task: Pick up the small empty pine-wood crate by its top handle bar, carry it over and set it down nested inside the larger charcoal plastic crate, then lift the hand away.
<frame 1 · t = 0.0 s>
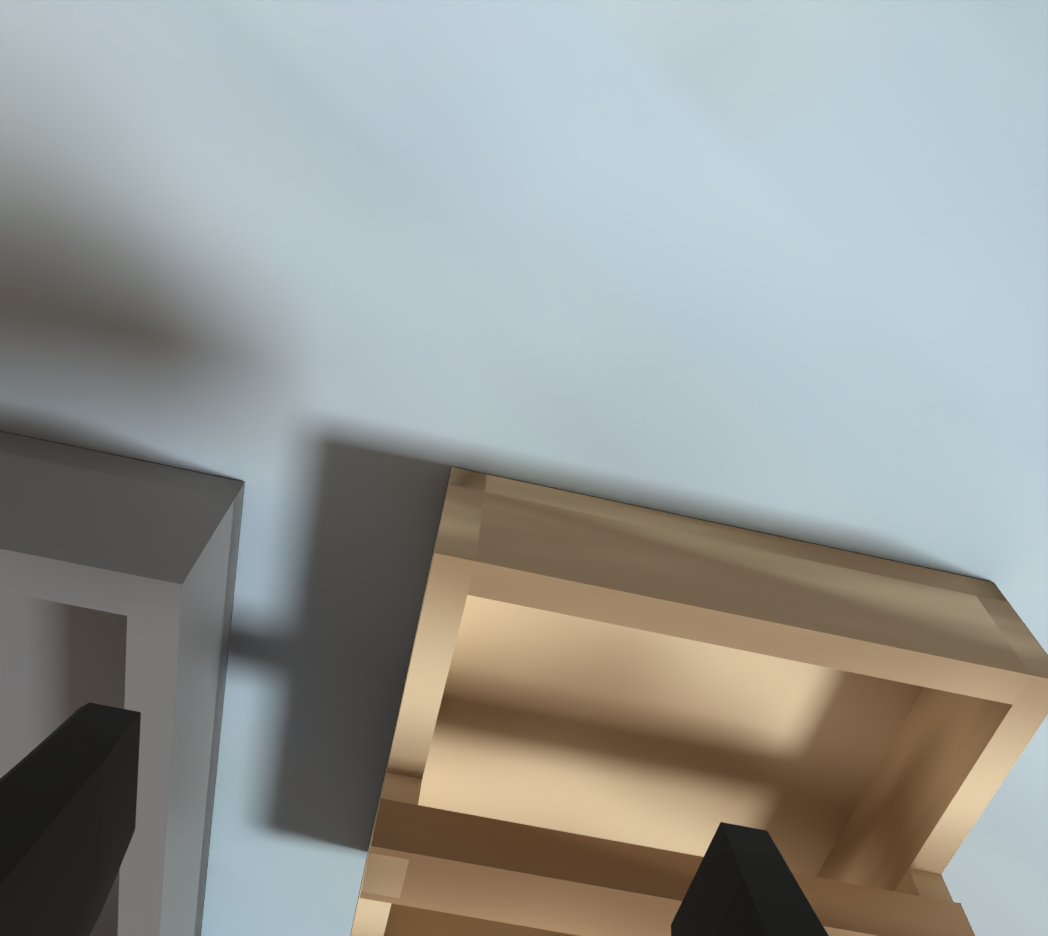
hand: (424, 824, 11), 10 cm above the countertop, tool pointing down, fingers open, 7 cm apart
pine crate: (648, 731, 24), on the countertop
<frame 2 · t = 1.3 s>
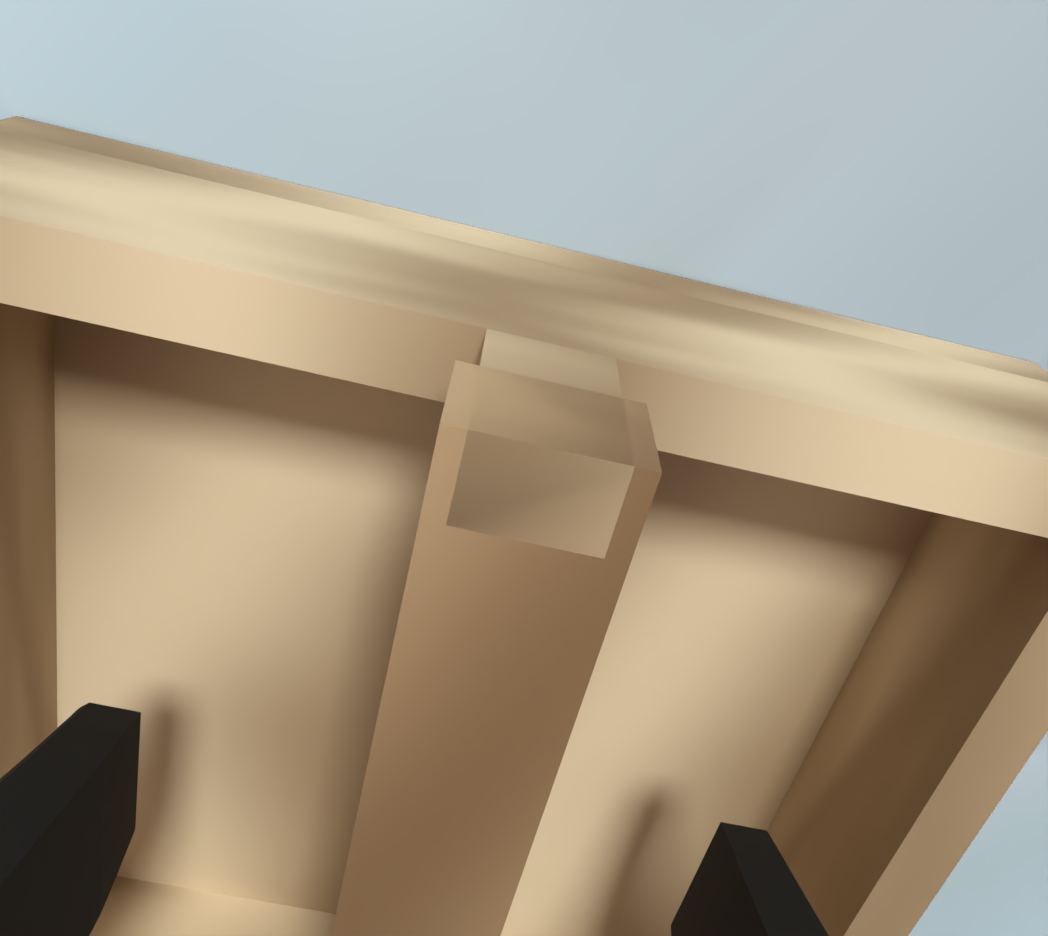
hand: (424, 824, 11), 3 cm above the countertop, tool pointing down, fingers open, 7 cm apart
pine crate: (450, 647, 14), on the countertop
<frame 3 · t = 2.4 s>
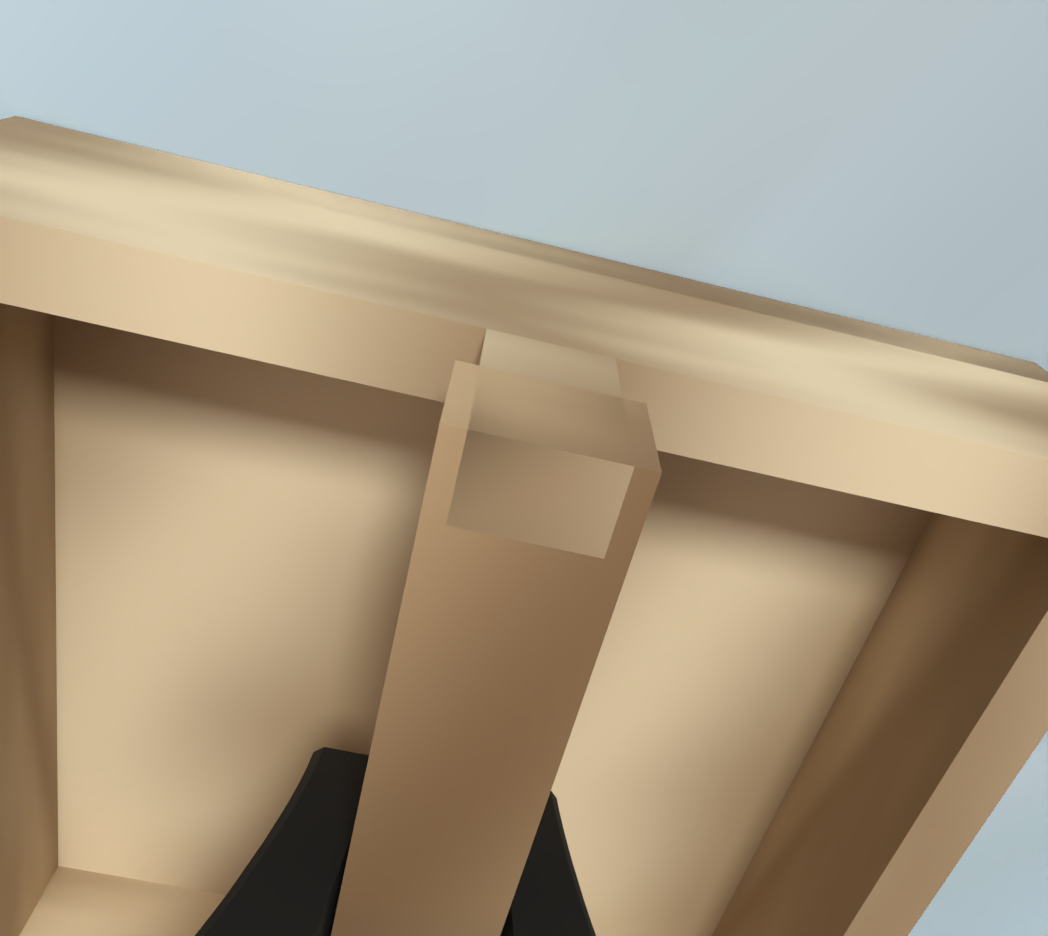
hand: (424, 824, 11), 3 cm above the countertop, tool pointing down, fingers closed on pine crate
pine crate: (450, 647, 14), on the countertop, touching gripper
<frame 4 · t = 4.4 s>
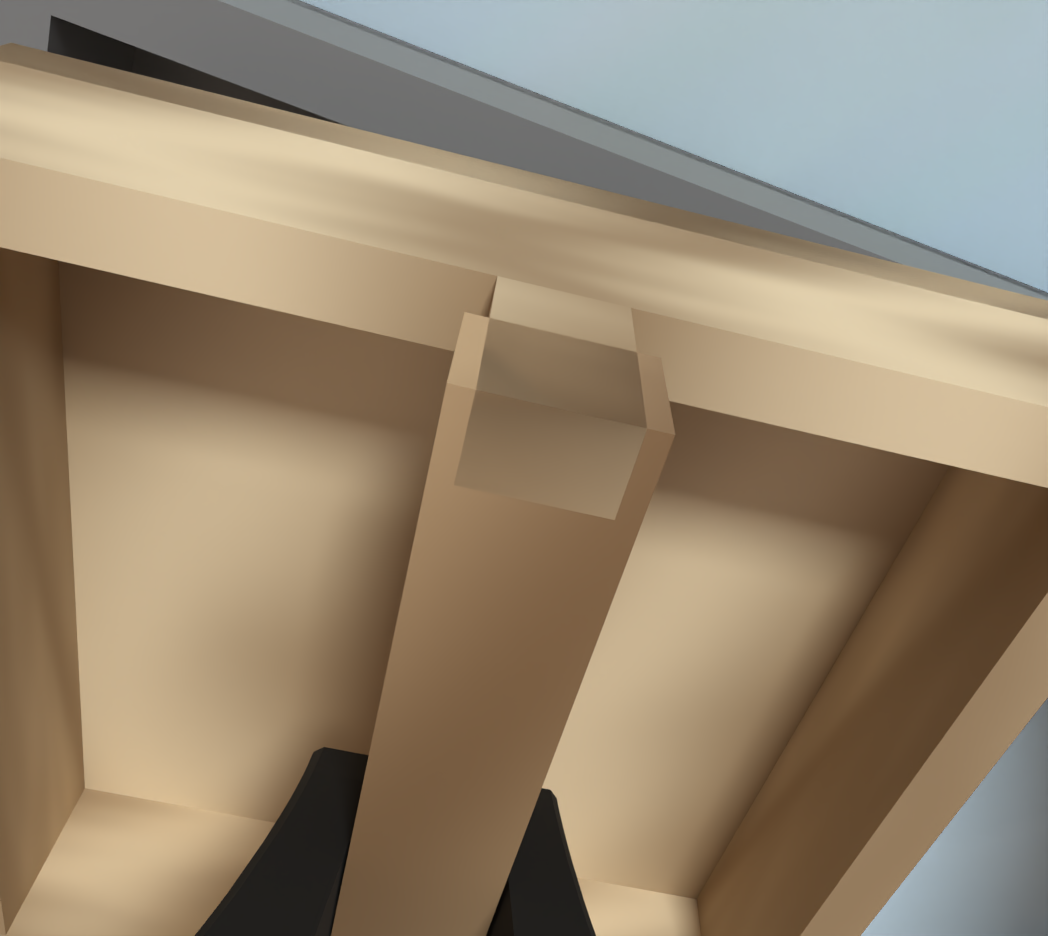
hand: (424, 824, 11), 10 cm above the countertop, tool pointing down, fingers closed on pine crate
pine crate: (463, 586, 14), point 7 cm above the countertop, touching gripper
charcoal crate: (473, 548, 22), on the countertop
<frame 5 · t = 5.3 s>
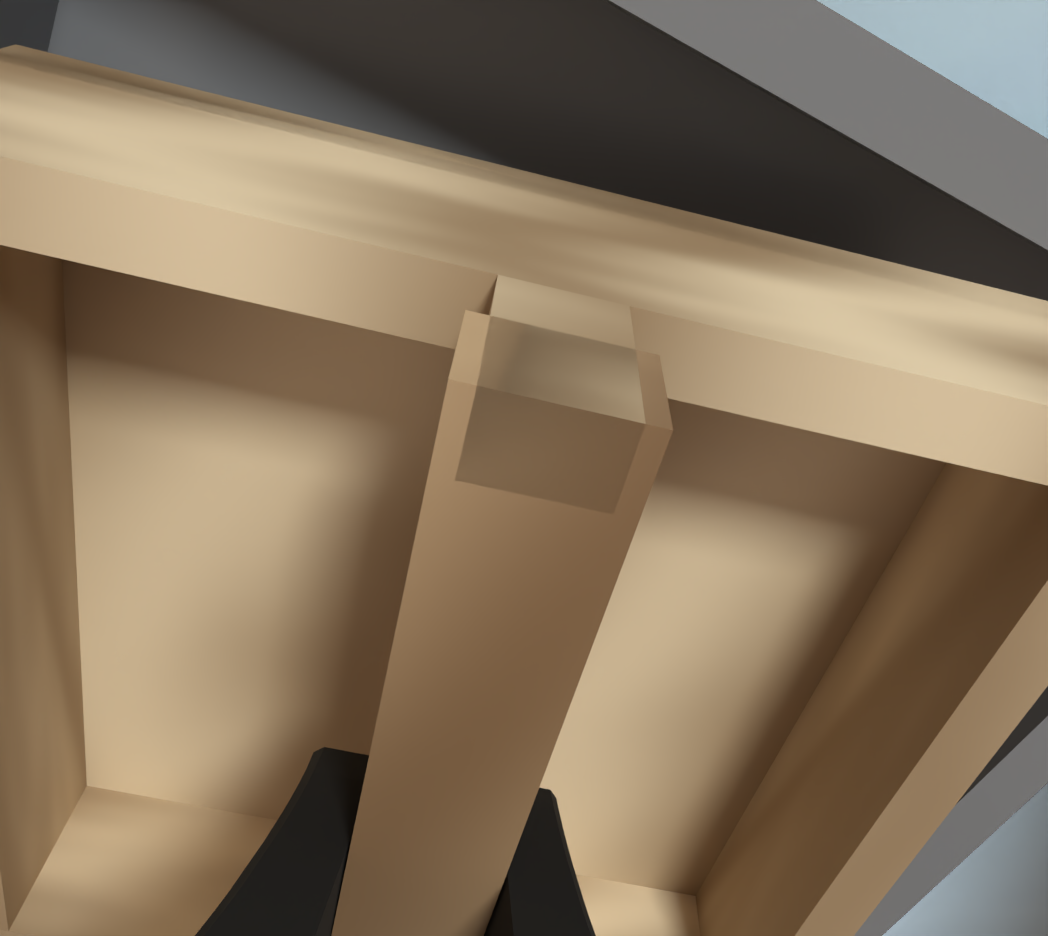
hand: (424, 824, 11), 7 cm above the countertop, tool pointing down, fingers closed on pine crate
pine crate: (463, 583, 14), point 3 cm above the countertop, touching gripper
charcoal crate: (471, 517, 18), on the countertop
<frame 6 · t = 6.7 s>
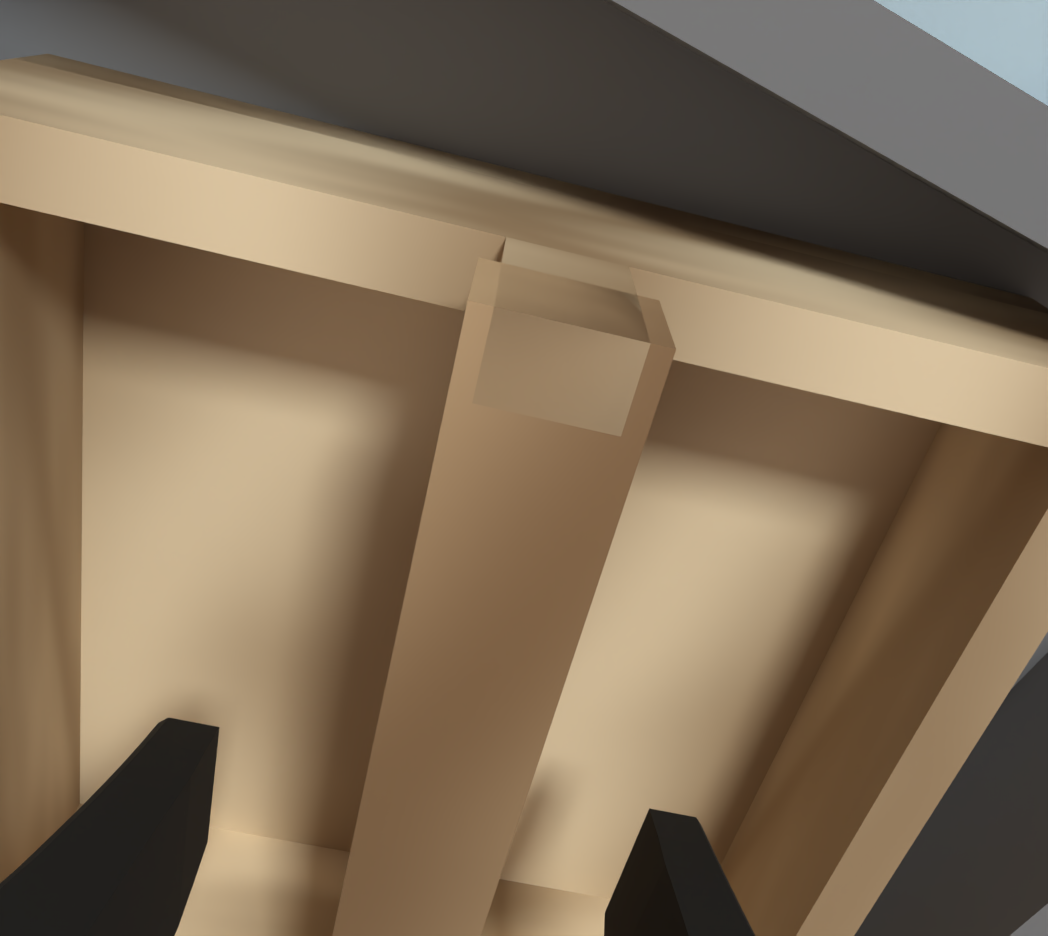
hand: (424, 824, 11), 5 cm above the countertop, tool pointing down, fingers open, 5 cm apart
pine crate: (462, 585, 15), point 1 cm above the countertop, touching charcoal crate
charcoal crate: (459, 588, 16), on the countertop
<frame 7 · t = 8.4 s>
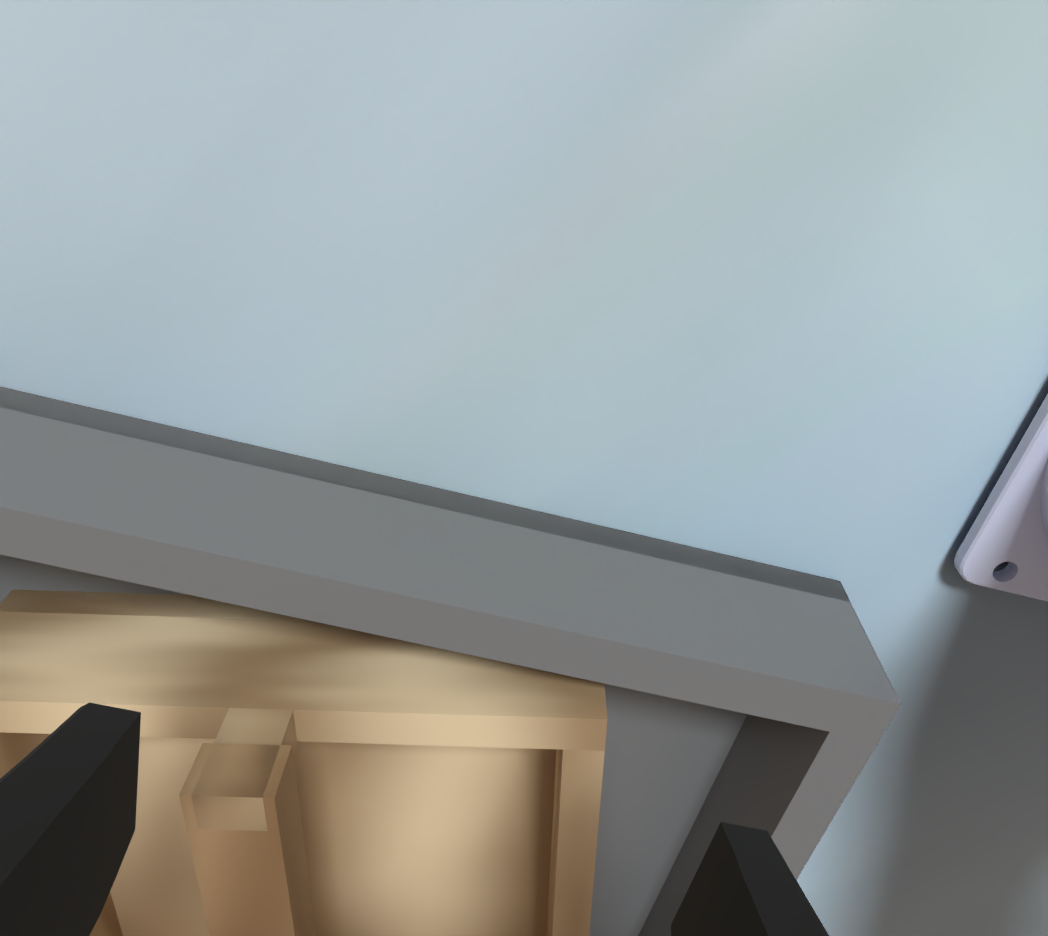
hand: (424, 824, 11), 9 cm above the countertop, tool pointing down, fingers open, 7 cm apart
pine crate: (327, 806, 23), point 1 cm above the countertop, touching charcoal crate
charcoal crate: (335, 799, 24), on the countertop
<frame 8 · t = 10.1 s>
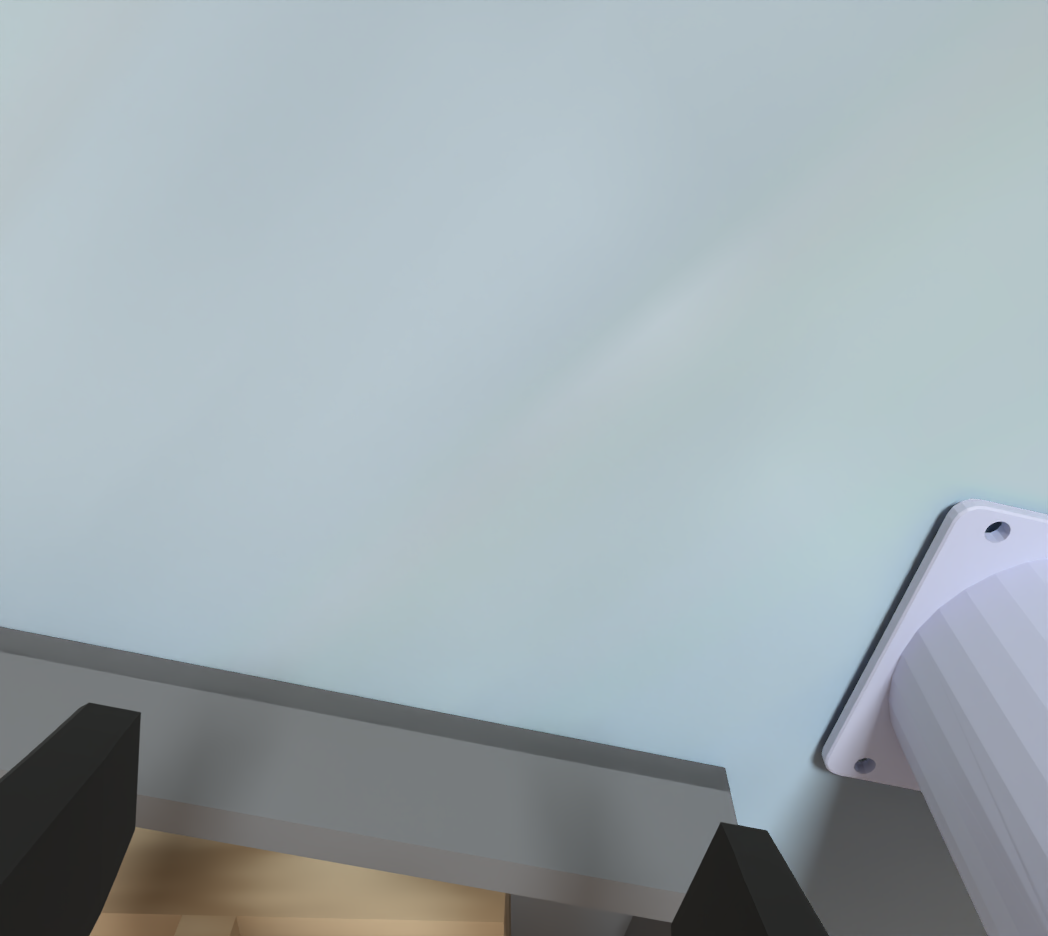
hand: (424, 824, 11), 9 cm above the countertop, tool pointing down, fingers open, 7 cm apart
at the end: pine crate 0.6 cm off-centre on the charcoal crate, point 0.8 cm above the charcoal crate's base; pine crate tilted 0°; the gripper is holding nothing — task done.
